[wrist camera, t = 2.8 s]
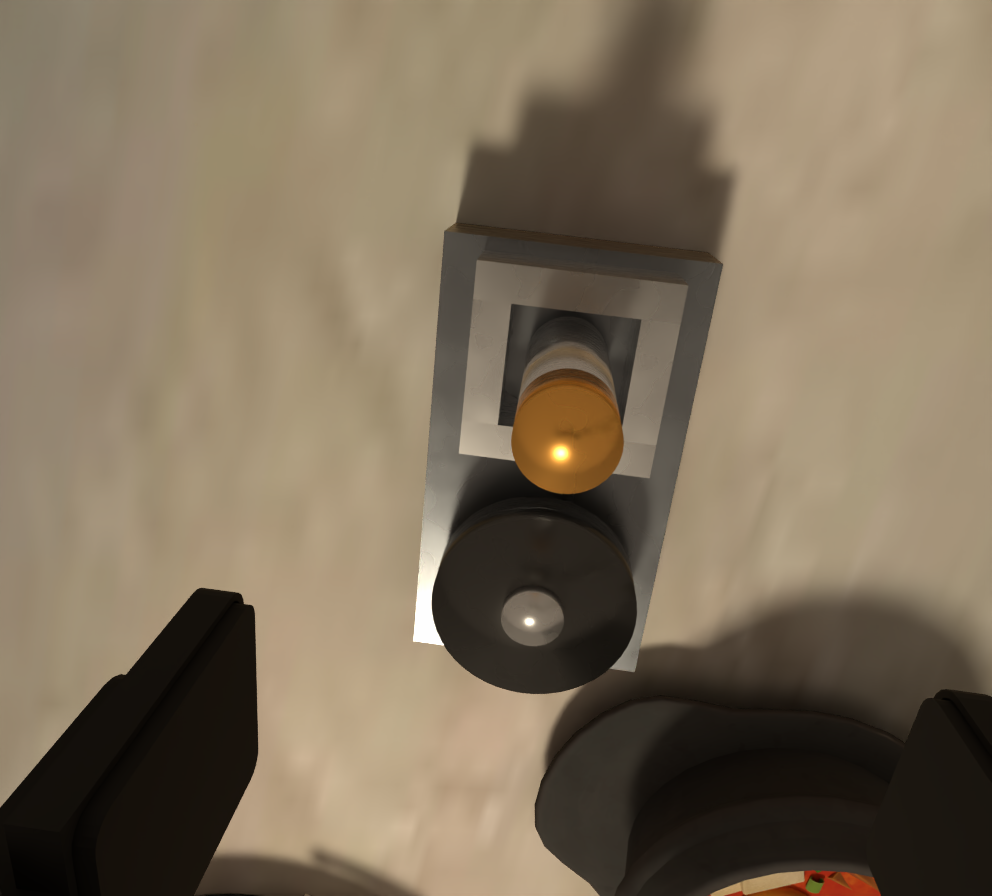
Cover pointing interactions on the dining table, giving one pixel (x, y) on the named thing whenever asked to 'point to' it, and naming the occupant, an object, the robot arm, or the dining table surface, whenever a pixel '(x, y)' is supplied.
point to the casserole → (717, 800)
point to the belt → (241, 895)
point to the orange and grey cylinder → (567, 409)
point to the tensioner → (520, 503)
